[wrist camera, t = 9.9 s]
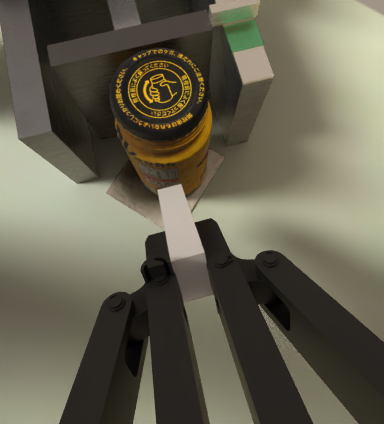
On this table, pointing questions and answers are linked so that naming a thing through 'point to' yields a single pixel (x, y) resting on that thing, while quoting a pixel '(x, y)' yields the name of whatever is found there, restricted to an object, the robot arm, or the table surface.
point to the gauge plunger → (135, 51)
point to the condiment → (162, 129)
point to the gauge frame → (100, 23)
